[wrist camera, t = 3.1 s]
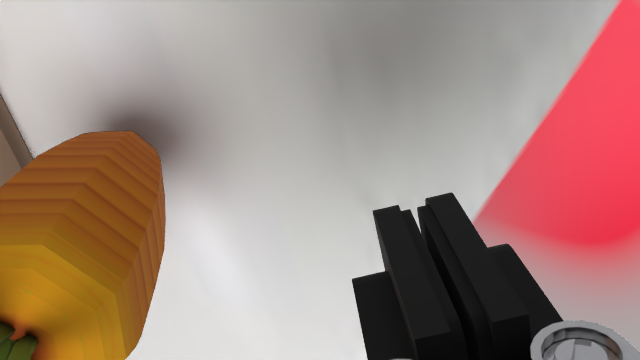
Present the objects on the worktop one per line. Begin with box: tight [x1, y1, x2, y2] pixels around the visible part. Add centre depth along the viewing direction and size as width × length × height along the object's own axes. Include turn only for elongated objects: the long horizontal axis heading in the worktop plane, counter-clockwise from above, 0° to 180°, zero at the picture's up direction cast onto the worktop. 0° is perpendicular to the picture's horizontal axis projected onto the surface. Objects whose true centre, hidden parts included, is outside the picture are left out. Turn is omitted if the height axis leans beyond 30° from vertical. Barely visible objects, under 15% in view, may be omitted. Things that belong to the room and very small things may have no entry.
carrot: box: [0, 131, 165, 360], centre depth 15 cm, size 5×5×15 cm
